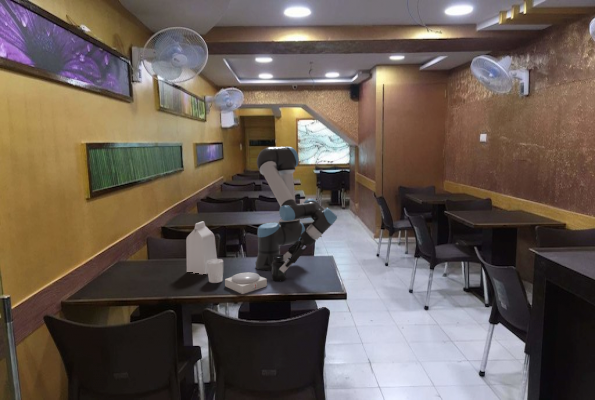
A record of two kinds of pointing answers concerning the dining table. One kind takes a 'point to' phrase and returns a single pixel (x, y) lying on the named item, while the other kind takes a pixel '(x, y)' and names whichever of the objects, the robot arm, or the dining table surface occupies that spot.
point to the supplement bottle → (276, 272)
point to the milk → (200, 248)
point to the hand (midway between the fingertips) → (281, 266)
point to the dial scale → (245, 282)
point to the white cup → (215, 270)
